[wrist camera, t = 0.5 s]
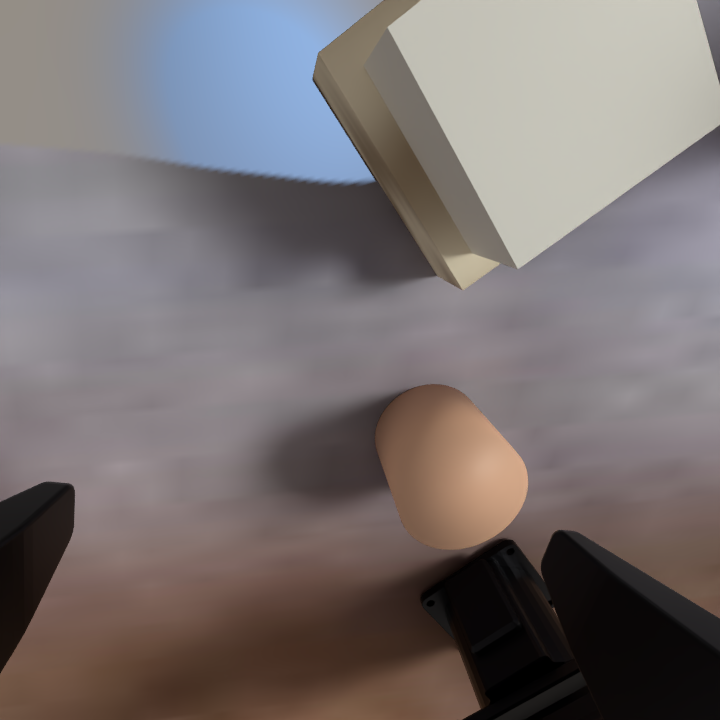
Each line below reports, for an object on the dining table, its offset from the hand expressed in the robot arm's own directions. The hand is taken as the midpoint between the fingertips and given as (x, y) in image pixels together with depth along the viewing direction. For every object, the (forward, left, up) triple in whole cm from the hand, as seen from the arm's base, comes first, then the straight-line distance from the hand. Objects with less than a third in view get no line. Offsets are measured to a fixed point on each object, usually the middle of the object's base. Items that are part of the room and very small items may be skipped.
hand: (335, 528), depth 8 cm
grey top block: (+3, -11, -9) cm, 14 cm away
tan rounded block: (-8, -2, -12) cm, 15 cm away
